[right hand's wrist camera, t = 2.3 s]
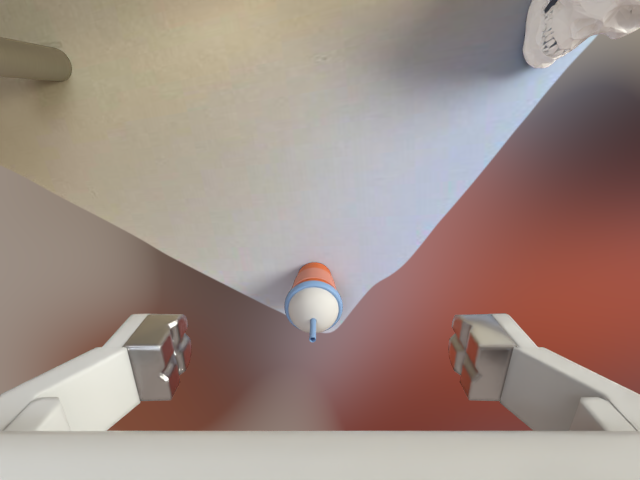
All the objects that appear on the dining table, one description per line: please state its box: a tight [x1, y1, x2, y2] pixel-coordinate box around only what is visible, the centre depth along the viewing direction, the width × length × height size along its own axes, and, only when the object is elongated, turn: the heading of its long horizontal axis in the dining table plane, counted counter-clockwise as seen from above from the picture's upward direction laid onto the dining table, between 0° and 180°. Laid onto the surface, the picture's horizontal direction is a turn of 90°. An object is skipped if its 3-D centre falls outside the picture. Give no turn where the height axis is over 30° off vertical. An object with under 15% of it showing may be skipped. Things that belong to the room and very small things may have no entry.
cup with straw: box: [285, 262, 343, 342], centre depth 55 cm, size 9×9×18 cm
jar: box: [0, 37, 71, 81], centre depth 44 cm, size 4×4×15 cm
